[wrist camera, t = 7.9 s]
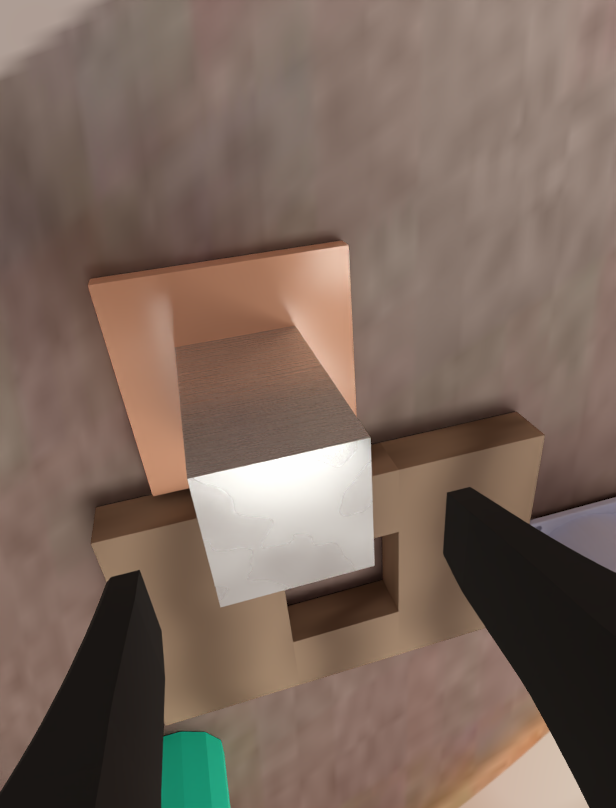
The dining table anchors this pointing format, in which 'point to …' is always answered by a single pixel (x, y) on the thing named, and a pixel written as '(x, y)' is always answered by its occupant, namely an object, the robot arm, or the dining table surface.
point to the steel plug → (273, 464)
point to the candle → (193, 772)
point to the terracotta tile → (216, 331)
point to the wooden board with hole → (333, 614)
